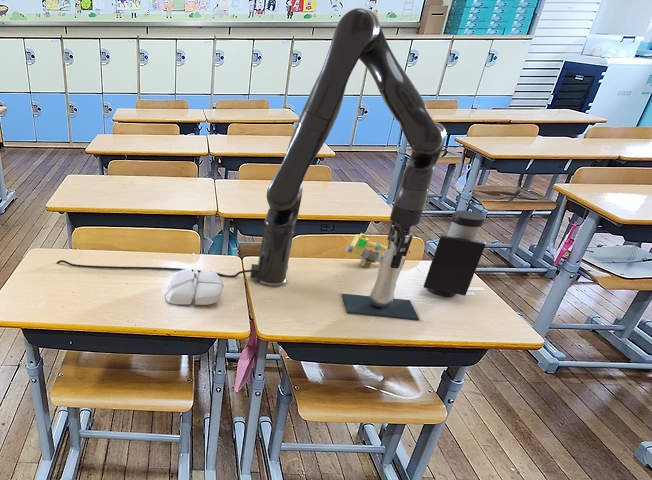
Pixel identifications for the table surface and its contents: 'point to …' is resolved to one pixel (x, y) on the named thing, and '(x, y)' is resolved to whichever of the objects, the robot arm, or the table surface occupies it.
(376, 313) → the mat
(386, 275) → the plastic bottle
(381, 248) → the toy
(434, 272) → the light fixture
